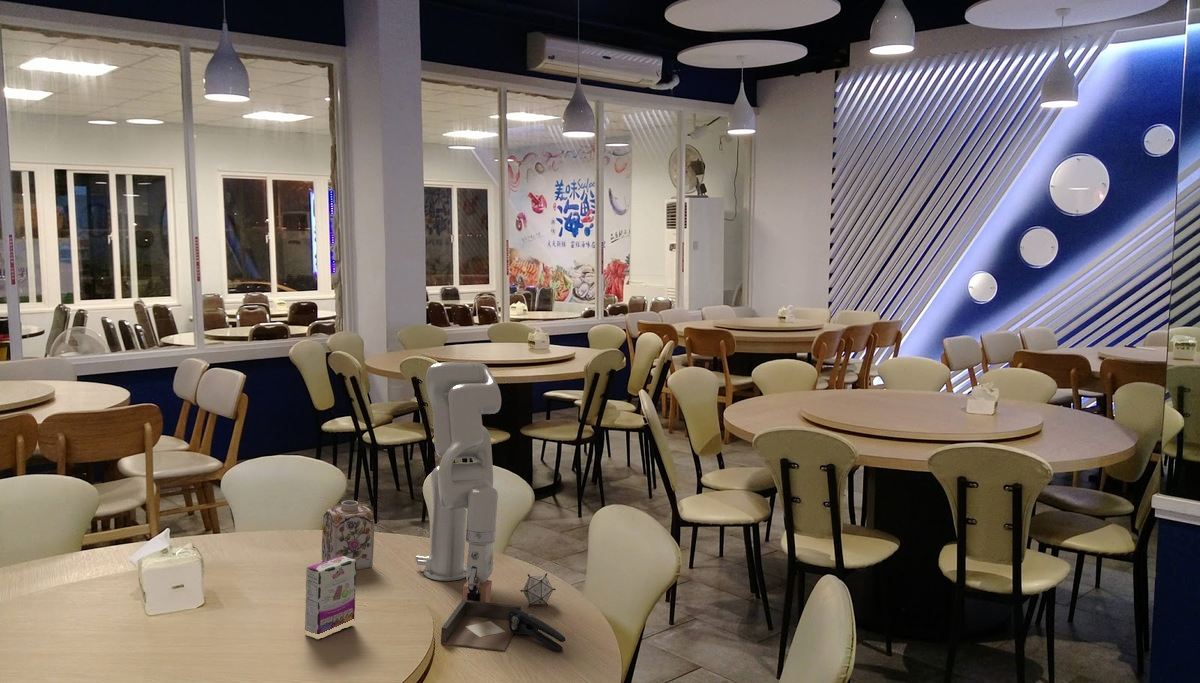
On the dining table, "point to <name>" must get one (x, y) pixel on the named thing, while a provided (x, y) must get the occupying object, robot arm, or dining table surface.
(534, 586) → the game die
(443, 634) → the tray
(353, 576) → the candy bar box
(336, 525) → the decorative jar
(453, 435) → the robot arm
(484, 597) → the cube
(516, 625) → the can opener
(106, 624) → the dining table surface
